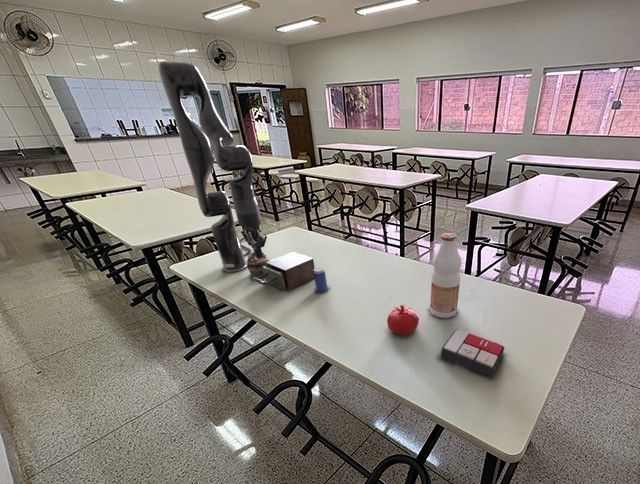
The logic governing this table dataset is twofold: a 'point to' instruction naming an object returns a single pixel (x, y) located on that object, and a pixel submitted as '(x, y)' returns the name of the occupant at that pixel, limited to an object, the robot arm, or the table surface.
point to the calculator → (472, 352)
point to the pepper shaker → (320, 279)
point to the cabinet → (294, 268)
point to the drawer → (272, 277)
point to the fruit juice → (445, 278)
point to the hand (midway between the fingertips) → (259, 257)
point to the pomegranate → (402, 321)
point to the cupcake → (256, 265)
